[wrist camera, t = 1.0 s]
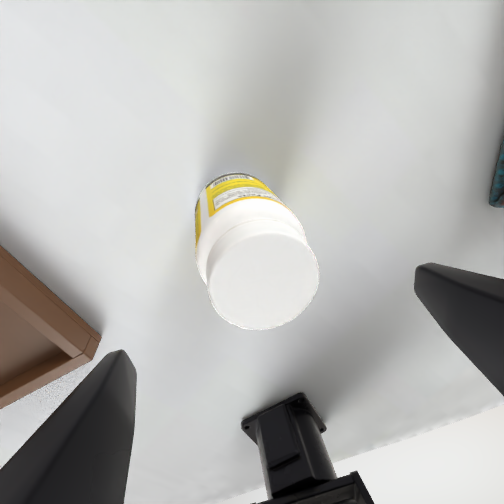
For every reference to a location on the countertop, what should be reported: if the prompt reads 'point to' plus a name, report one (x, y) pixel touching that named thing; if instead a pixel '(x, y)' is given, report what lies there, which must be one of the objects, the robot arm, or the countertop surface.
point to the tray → (36, 333)
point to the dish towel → (498, 183)
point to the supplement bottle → (252, 253)
